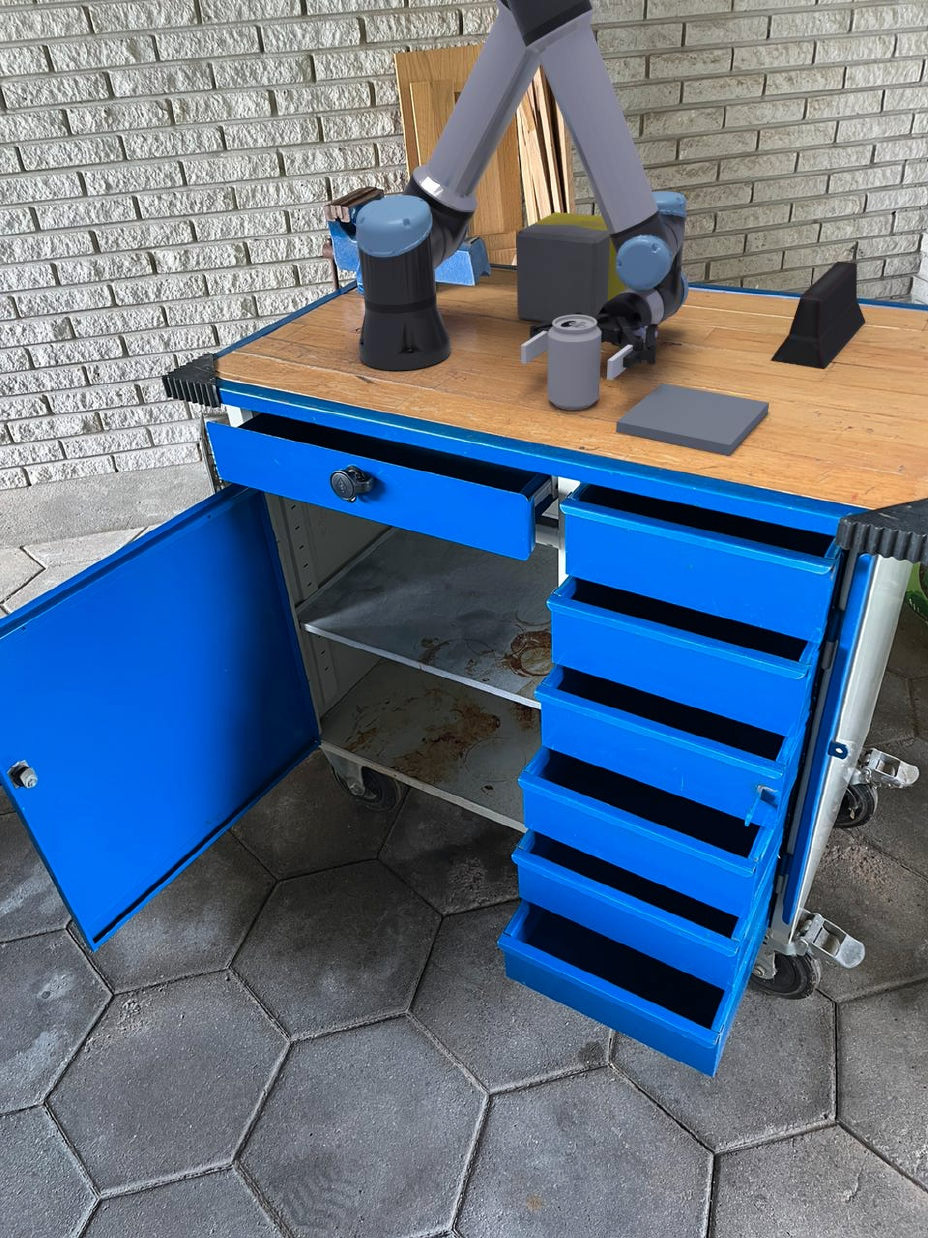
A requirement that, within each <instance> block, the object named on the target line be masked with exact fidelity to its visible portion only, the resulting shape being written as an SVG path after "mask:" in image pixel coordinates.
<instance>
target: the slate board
mask: <svg viewBox="0 0 928 1238" xmlns="http://www.w3.org/2000/svg"><path fill="white" fill-rule="evenodd" d="M769 407H770V402H768V401H763V400H756V399H751V398H746V397H740V396H737V395H736V396H735V395H729V394H724V393H719V392H713V391H708V390H701V389H696V388H692V387H691V388H690V387H685V386H679V385H675V384H674V385H673V384H668V383H663V382H661V383H660V384H659V385H657V387H655V388H654V389H653V390H652V391H651V392H649V393H648V394H647V395H645V397H643V398H642V399H641V400H640V401H639V402H638V403H637V404H635V405H634V406H633V407H632V408H631V409H630V410H628V411H627V412H626V413H625V414H624V415H622V416H621V417H620V418H619V419H618V420H617V421H616V426H615V427H616V429H615V432H616V433H620V434H624V435H625V434H626V435H629V436H630V435H631V436H634V437H640V438H644V439H649V440H653V441H657V442H662V443H668V444H672V445H676V446H680V447H686V448H691V449H695V450H701V451H705V452H709V453H714V454H719V455H724V456H731V454H732V453H733V452H734V451H735V450H736V449H737V447H739V445H740V444H741V443H742V442H743V441H744V440H745V439H746V437H747V436H749V434H750V433H751V432H752V431H753V430H754V428H756V426H758V424H759V423H760V422H761V421H762V420H763V419H764V418H765V416H766V415H767V414H768V413H769Z"/></svg>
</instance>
